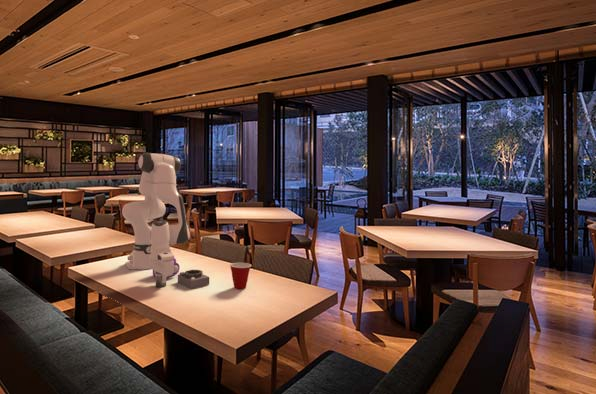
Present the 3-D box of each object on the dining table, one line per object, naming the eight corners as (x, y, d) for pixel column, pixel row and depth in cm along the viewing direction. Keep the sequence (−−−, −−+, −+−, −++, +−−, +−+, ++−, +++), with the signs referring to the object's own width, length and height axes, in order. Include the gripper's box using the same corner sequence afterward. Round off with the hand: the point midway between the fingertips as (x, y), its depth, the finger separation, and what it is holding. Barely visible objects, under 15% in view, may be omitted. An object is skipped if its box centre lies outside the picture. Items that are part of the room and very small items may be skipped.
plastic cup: (255, 287, 186) (256, 263, 185) (240, 292, 177) (240, 268, 176) (240, 282, 192) (240, 260, 192) (224, 288, 184) (224, 264, 183)
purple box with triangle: (173, 280, 195) (173, 261, 194) (150, 278, 198) (149, 259, 197) (183, 274, 206) (183, 256, 205) (161, 272, 209) (161, 255, 208)
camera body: (177, 282, 191) (177, 270, 191) (195, 278, 198) (195, 267, 198) (191, 288, 181) (191, 276, 181) (209, 284, 189) (209, 273, 188)
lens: (153, 286, 185) (153, 271, 184) (163, 283, 189) (163, 269, 188) (158, 288, 181) (157, 274, 181) (168, 286, 185) (168, 272, 184)
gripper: (145, 250, 189) (145, 277, 190) (163, 258, 174) (163, 287, 176) (157, 249, 193) (157, 275, 194) (176, 256, 179) (176, 284, 180)
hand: (160, 280), depth 185 cm, fingers open, 5 cm apart
